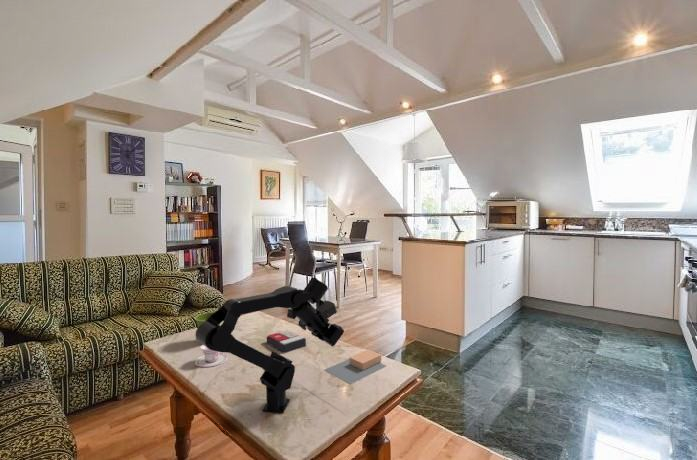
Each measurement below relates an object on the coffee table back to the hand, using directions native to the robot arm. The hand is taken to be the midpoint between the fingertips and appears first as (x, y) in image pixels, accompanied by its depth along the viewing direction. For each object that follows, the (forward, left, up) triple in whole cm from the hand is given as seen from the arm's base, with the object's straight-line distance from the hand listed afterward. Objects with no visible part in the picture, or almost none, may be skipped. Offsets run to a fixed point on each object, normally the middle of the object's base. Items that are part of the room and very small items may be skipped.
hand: (332, 340), depth 118 cm
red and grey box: (+27, +26, -14) cm, 40 cm away
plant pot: (+27, +61, -14) cm, 68 cm away
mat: (+8, -7, -13) cm, 17 cm away
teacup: (+8, +50, -14) cm, 52 cm away
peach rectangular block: (+8, -7, -11) cm, 16 cm away
